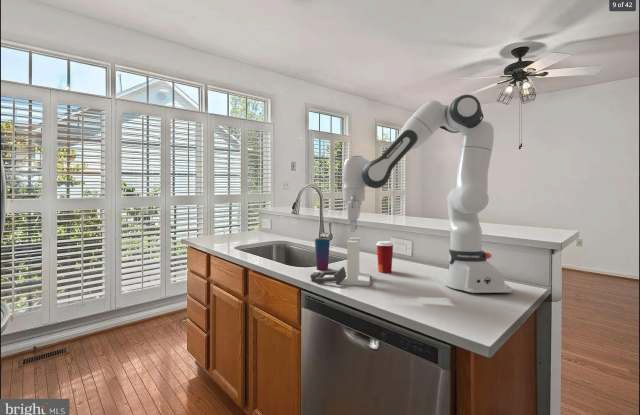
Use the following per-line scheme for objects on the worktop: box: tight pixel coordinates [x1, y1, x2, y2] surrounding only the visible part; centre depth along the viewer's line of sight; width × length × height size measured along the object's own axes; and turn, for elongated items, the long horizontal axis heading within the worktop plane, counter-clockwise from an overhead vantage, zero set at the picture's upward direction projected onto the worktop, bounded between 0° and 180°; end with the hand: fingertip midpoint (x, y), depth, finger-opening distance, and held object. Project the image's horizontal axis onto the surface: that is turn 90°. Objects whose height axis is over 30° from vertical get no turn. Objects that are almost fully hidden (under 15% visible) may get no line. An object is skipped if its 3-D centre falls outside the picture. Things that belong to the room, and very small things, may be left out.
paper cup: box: [376, 240, 394, 274], centre depth 147 cm, size 8×8×14 cm
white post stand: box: [338, 237, 371, 286], centre depth 133 cm, size 13×16×16 cm
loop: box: [309, 266, 347, 285], centre depth 129 cm, size 7×4×13 cm
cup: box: [314, 237, 331, 272], centre depth 149 cm, size 7×7×15 cm
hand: (353, 230), depth 133 cm, fingers open, 8 cm apart
